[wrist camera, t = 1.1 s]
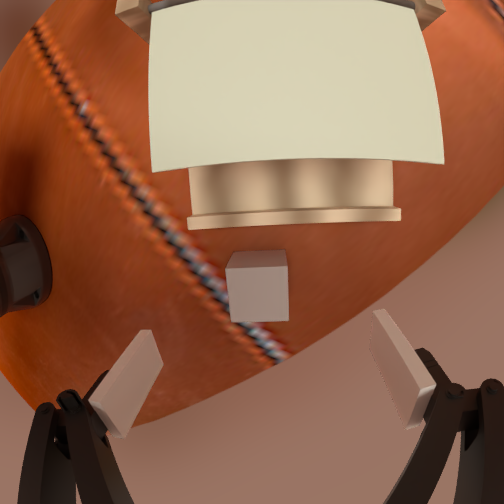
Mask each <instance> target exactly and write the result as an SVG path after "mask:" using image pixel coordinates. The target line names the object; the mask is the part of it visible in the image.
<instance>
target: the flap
mask: <svg viewBox="0 0 504 504" xmlns="http://www.w3.org/2000/svg"><path fill="white" fill-rule="evenodd" d="M149 130H150V149H151V163H152V172H164V171H171V170H178V169H185V168H193V167H201V166H210V165H220V164H230V163H242V162H256V161H272V160H295V159H370V160H392V161H407V162H420V163H431V164H444V151H443V138H442V128H441V120H440V112H439V105H438V99H437V93H436V88H435V83H434V78H433V73H432V69H431V64H430V60H429V56H428V53H427V49H426V45H425V42H424V39H423V35H422V32H421V29H420V26H419V23H418V20H417V17H416V15H415V12H414V10H413V9H410V8H406V7H403V6H399V5H395V4H391V3H386V2H382V1H377V0H199V1H194V2H189V3H185V4H181V5H176V6H173V7H169V8H165V9H162V10H158V11H155V12H152V17H151V30H150V47H149Z"/></svg>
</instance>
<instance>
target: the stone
mask: <svg viewBox="0 0 504 504" xmlns="http://www.w3.org/2000/svg"><path fill="white" fill-rule="evenodd" d="M225 271H226V281H227V290H228V298H229V307H230V316H231V322H268V321H289V304H288V265H287V259H286V252H285V249H281V250H259V251H237V252H233V254H232V256H231V258H230V260H229V262H228V264H227V266H226V268H225Z"/></svg>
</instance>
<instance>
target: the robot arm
mask: <svg viewBox="0 0 504 504" xmlns="http://www.w3.org/2000/svg"><path fill="white" fill-rule="evenodd" d="M51 285H52V271H51V264H50V259H49V255H48V252H47V248H46V246H45V243H44V241H43V239H42V237H41V235H40V233H39V231H38V230H37V228H36V227H35V225H34V224H33V223H32V222H31V221H30V220H29V219H28V218H26V217H24V216H22V215H14V216H11V217H8V218H5V219H3V220H2V221H1V222H0V317H1V316H3V315H4V314H6V313H8V312H13V311H19V310H24V309H30V308H34V307H36V306H38V305H39V304H41V303H42V302H44V301H45V300H46V299H47V298H48V296H49V294H50V290H51ZM370 351H371V353H372V356H373V358H374V360H375V362H376V364H377V366H378V368H379V371H380V373H381V375H382V377H383V379H384V382H385V384H386V386H387V388H388V391H389V393H390V395H391V397H392V400H393V402H394V404H395V407H396V409H397V412H398V414H399V416H400V419H401V421H402V424H403V426H404V429H405V430H406V429H410V428H413V427H416V426H419V425H420V423H421V421H422V419H423V418H424V420H425V422H426V425H425V427H424V429H423V431H422V433H421V436H420V438H419V441H418V443H417V445H416V447H415V449H414V451H413V453H412V455H411V457H410V459H409V461H408V463H407V465H406V467H405V468H404V470H403V472H402V474H401V476H400V477H399V479H398V481H397V483H396V484H395V486H394V487H393V489H392V491H391V492H390V494H389V496H388V497H387V499H386V500H385V502H384V503H383V504H427V503H428V501H429V499H430V497H431V495H432V493H433V491H434V489H435V487H436V485H437V482H438V481H439V478H440V476H441V474H442V471H443V469H444V466H445V464H446V461H447V458H448V456H449V453H450V451H451V448H452V445H453V442H454V439H455V436H456V433H457V432H460V431H461V448H460V462H459V471H458V479H457V486H456V493H455V498H454V503H453V504H504V386H503V384H502V383H501V382H500V381H498V380H496V379H487V380H485V381H484V382H483V383H482V385H481V386H480V388H477V389H469V390H465V388H464V387H462V386H461V385H460V384H456V383H451V381H450V380H449V378H448V377H447V375H446V374H445V372H444V371H443V370H442V368H441V367H440V365H438V363H437V361H436V360H435V358H434V357H433V356H432V354H431V353H430V352H429V351H427V350H425V349H424V348H420V349H416V350H414V349H413V348H412V347H411V345H410V343H409V342H408V341H407V339H406V338H405V336H404V335H403V333H402V332H401V330H400V329H399V328H398V326H397V325H396V323H395V322H394V321H393V319H392V318H391V316H390V315H389V314H388V312H387V311H386V310H385V309H380V310H374V311H373V313H372V327H371V339H370ZM163 365H164V364H163V361H162V359H161V356H160V353H159V351H158V348H157V345H156V342H155V339H154V337H153V334H152V331H151V330H140V331H139V333H138V334H137V335H136V337H135V338H134V339H133V340H132V342H131V343H130V344H129V346H128V347H127V348H126V350H125V351H124V352H123V354H122V355H121V356H120V357H119V359H118V360H117V361H116V363H115V364H114V365H113V367H112V368H111V369H110V370H107V371H105V372H104V373H103V374H101V375H100V376H99V378H98V379H97V380H96V382H95V383H94V384H93V387H91V388H90V390H89V391H88V392H87V394H86V395H85V396H84V398H83V399H81V398H80V396H79V395H78V393H77V391H75V390H72V389H69V390H65V391H63V392H61V393H60V394H59V395H58V397H57V399H56V401H57V403H58V404H59V406H60V407H61V409H56V408H55V406H54V405H53V404H52V403H50V402H46V403H42V404H41V405H40V406H39V407H38V408H37V409H36V412H35V416H34V419H33V422H32V426H31V430H30V434H29V438H28V442H27V446H26V451H25V455H24V460H23V466H22V472H21V478H20V485H19V493H18V502H17V504H76V484H77V488H78V492H79V495H80V499H81V502H82V504H134V502H133V500H132V498H131V496H130V494H129V492H128V489H127V487H126V485H125V483H124V480H123V478H122V475H121V473H120V471H119V468H118V465H117V463H116V460H115V457H114V455H113V452H112V449H111V446H110V443H109V440H108V437H107V436H106V434H105V433H106V432H107V430H109V432H110V433H111V435H112V436H114V437H117V438H121V439H125V438H126V436H127V434H128V432H129V430H130V428H131V426H132V424H133V422H134V420H135V418H136V416H137V414H138V412H139V410H140V409H141V407H142V405H143V403H144V401H145V399H146V397H147V395H148V393H149V391H150V389H151V388H152V386H153V384H154V382H155V380H156V378H157V376H158V374H159V372H160V371H161V369H162V367H163ZM54 438H55V442H54Z"/></svg>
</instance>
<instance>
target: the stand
mask: <svg viewBox="0 0 504 504" xmlns="http://www.w3.org/2000/svg"><path fill="white" fill-rule="evenodd" d="M194 1H199V0H163V1H160V2H157V3H153V4H152V2H151V1H150V0H117V6H116V11H115V15H116V16H117V17H118V18H119V19H121V20H122V21H123V22H124V23H125V24H127V25H128V26H129V27H130V28H131V29H132V30H134V31H135V32H136V33H137V34H138V35H139V36H140V37H142V38H143V39H144V40H145V41H146V42H147V43H148V44H149V45H150V30H151V17H152V12H155V11H158V10H162V9H165V8H169V7H173V6H176V5H181V4H185V3H189V2H194ZM377 1H382V2H386V3H391V4H395V5H399V6H403V7H406V8H410V9H413V10H414V12H415V15H416V17H417V20H418V23H419V26H420V29H421V32H422V31H423V30H424V29H425V28H426V27H427V26H429V25H430V24H431V23H432V22H433V21H435V20H436V19H437V18H438V17H439V16H441V15H442V14H443V13H444V12H445V11H446V9H445V7H444V4H443V2H442V0H377ZM188 170H189V182H190V193H191V203H192V213H193V215H191V216H189V217H187V223H188V230H194V229H209V228H225V227H242V226H260V225H280V224H302V223H328V222H361V221H401V209H400V208H397V207H394V206H393V170H392V160H370V159H295V160H272V161H256V162H242V163H230V164H220V165H210V166H201V167H193V168H188Z"/></svg>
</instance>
